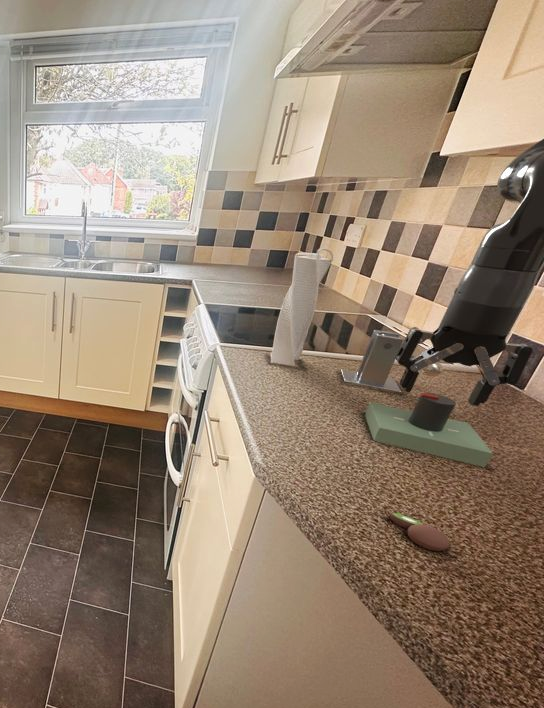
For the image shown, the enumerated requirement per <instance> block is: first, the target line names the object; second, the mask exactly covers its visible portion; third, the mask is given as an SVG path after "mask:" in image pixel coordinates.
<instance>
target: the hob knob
mask: <svg viewBox="0 0 544 708" xmlns="http://www.w3.org/2000/svg"><path fill="white" fill-rule="evenodd" d="M456 405H457V402H456V400H454V399H452V398H449V397H448V396H444V395H441V394H438V393H431V392H422V393H420V395H419V397H418V399H417V401H416V403H415V406H414V408H413V410H412V411H413V412H412V414H411V416H410V418H409V422H410V423H411V424H413V425H415V426H417V427H419V428H422V429H425V430H429V431H442V430H443V428H444V426H445V424H446V422H447V420H448V419H450V417H451V414H452V413H453V410H454V409H455V406H456Z"/></svg>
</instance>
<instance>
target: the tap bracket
mask: <svg viewBox="0 0 544 708" xmlns="http://www.w3.org/2000/svg"><path fill="white" fill-rule="evenodd" d="M382 333H383V334H385V335H387V336H385V335H381V334H382ZM400 335H401V334H400V333H398V332H391V331H386V330H385V331H384V330H378V329H373V331H372V333H371V336H370V339H369V341H368V343H367V346H366V349H365V351H364V354H363V356H362V359H361V361H360V364H359V366H358V369H357V371H353V370H347V369H340V372H341V376H342V378H343V382H344V383H347V384H353V385H357V386H362V387H363V386H364V387H369V388H373V389H379V390H384V391H389V392H394V393H399V394H401V393H402V391H401V387H399V385H398V383H397V382H396V380H395V379H394V378H391V377H389V375H390V373H391V371H392V368H393V366H394V364H395V361H396V359H395V357H396V355H397V353H398V351H399V349H400V347H401V346H402V344H403V342H404V340H405V338H404V337H400Z"/></svg>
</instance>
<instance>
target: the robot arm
mask: <svg viewBox="0 0 544 708" xmlns="http://www.w3.org/2000/svg"><path fill="white" fill-rule="evenodd" d="M496 189H497V193H498V194H499V197H501V198H502V199H503V200H505V201H506V202H509V203H513V204H518V206H517V208H515V209H516V210H515V211H514V212H513V214H512V215H511V216H510V217H509V219H507V220H506V221H504V222H501V223H498V224H495V225H493V226H491V227H489V229H488V230H487V231H486V233H485V234H484V236H483V237H482V239H481V242H479V246H478V247H477V250H476V251H475V254H474V256H473V258H472V260H471V262H470V265H469V266H468V268H467V270H466V271H465V273H464V274H463V275H462V277H461V278H460V280H459V282H458V285H457V286H456V287H455V289H454V291H453V296H452V297H451V300H450V302H449V304H448V305H447V308H446V310H445V313H444V315H443V317H442V319H441V321H440V324H439V325H438V327H437V328H436V329H435V330H434V331H428V330H423V329H422V330H421V329H420V328H418V327H417V326H413V327H411V328H410V329H409V330H408V332H407V334H406V336H405V337H404V340H403V343H402V345H401V347H400V349H399V351H398V353H397V355H396V357H395V361H396V362H397V363H398V365H400V366H402V367H404V368H405V369H404V372H403V374H402V376H401V378H400V380H399V385H400V388H402V391H403V392H405V393H411V392H412V391H413V390H412V389H413V388H414V386H415V383H416V381H417V379H418V377H419V375H420V372H419V371H420V370H422V368H424V367H426V366H428V365H430V364H434V363H436V362H438V363H439V362H440V361H443V362H444V363H447V364H460V365H462V366H465V367H472V366H476V368H477V369H478V371H479V374H480V375H481V378H482V379H479V380H478V381H477V382H476V384H475V386H474V388H473V390H472V392H471V394H470V395H469V397H468V398H467V399H468V400H467V401H468V403H469V404H470V406H474V407H479V406H480V405H481V404H485V403H486V402H487V401H488V400H489V398H490V396H491V395H492V393H493V390H494V389H495V388H496V387H497V386H499V385H509V386H513V385H516V384H517V383H518V382H519V381H520V378H521V376H522V374H523V372H524V370H525V368H526V366H527V364H528V362H529V359H530V357H531V355H532V353H533V352H534V349H533V348H532V347H531V346H529V345H528V344H526V343H524V342H516V343H511V342H507V341H506V340H507V337H509V334H510V333H511V331H512V330H513V327H514V325H515V323H516V322H517V320H518V318H519V316H520V315H521V312H522V310H523V309H524V307H525V306H526V303H527V302H528V300H529V298H530V296H531V294H532V292H533V291H534V288H535V286H536V283H537V280H538V278H539V275H540V272H541V270H542V268H543V267H544V138H542V139H541V140H539V141H537V142H536V143H534V144H533V145H531V146H529V147H528V148H527V149H525V150H524V151H522V152H521V153H520V154H518V155H517V156H516V157H515V158H514V159H512V160H511V161H510V162H509V163H508V165H506V166H505V168H504V169H503V170H502V172H501V173H500V175H499V177H498V179H497V184H496ZM427 340H430V342H431V344H432V346H431V347H429V348H427V349H425V350H424V351H422V352H421V353H420V354H419V355H417V356H416V357H415V358H413V359H410V358H411V356H412V354H413V355H414V353H415V350H416V349H417V347H418V345H421V344H423V343H425V342H426V341H427ZM504 351H505V356H506V357H507V359H506V362H505V363H504V366H503V368H502V370H501V372H500V373H496V368H495V366H494V364H493V362H492V360H491V358H493V357H495V356H497V355H498V354H501V353H503V352H504Z"/></svg>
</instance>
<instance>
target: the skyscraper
mask: <svg viewBox="0 0 544 708" xmlns="http://www.w3.org/2000/svg"><path fill="white" fill-rule="evenodd" d="M321 251H326V252H328V253H329V255H330V258H326V257H323V253H320V252H321ZM300 255H301V256H300ZM302 255H303V256H302ZM333 261H334V255H333V251H332V250H331V249H329V248H327V247H320V248H318V249H317V250H316V253H315V252H306V251H305V252H304V251H303V252H302V251H301V252H296V254H294V261H293V269H292V279H291V285H290V287H289V289H288V291H287V292H286V295H285V297H284V299H283V301H282V305H281V308H280V311H279V314H278V318H277V322H276V328H275V332H274V338H273V342H272V343H273V344H272V351H271V353H270V354H269V357H270V363H274V364H281V365H286V366H292V367H296V366H295V361H300V357H301V356H302V354H303V351H304V345H305V342H306V339H307V336H308V334H309V329H310V326H311V324H312V322H313V319H314V316H315V312H316V308H317V304H318V297H319V287H320V284H321V282H322V280H323V279H324V277H325V275H326V274H327V272H328V270H329V268H330V267H331V265H332V262H333Z"/></svg>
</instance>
